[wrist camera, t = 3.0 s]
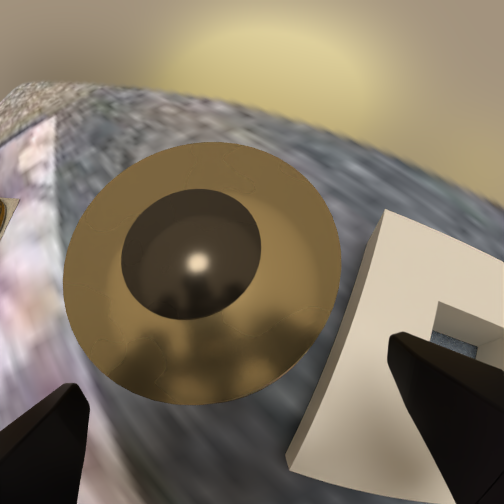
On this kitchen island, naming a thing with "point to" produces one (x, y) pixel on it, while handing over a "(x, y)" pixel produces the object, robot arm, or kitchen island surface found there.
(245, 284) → the brass bushing
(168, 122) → the kitchen island surface
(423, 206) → the kitchen island surface
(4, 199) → the condiment
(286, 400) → the kitchen island surface
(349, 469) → the jig plate
